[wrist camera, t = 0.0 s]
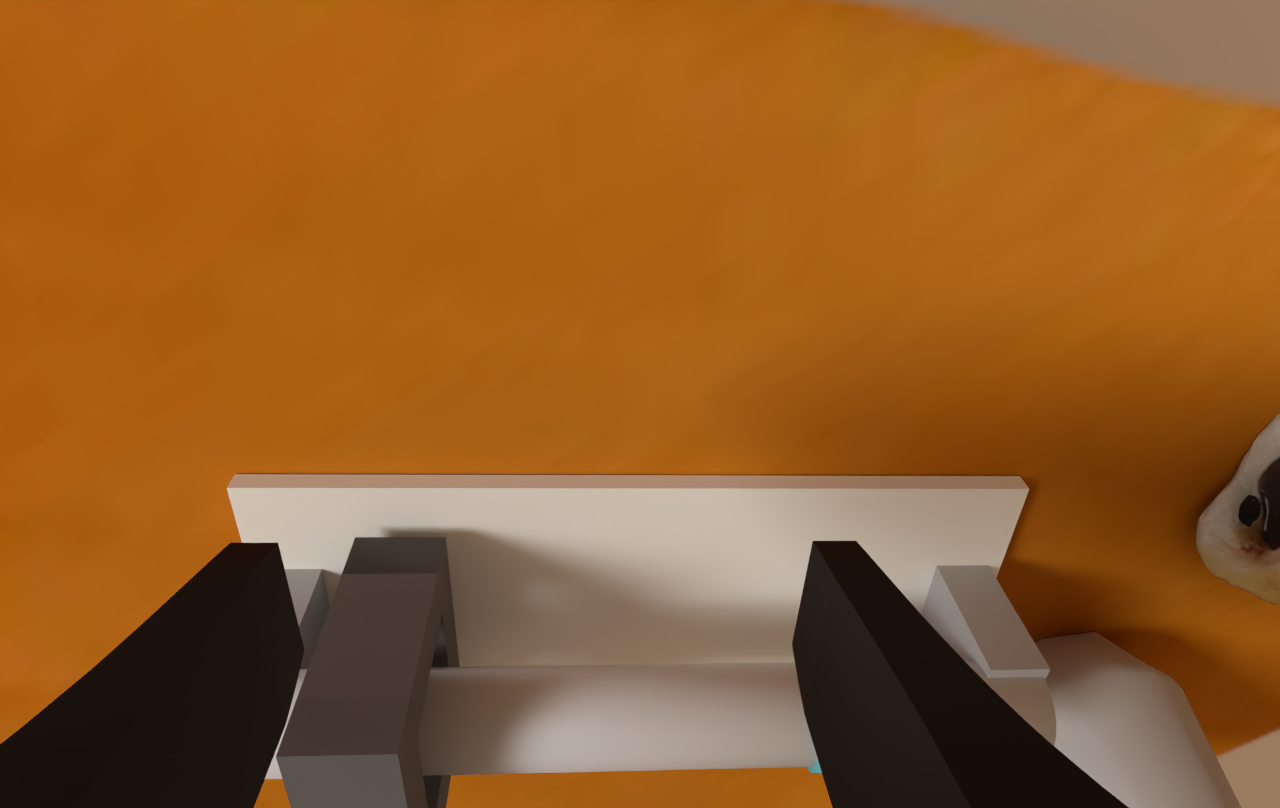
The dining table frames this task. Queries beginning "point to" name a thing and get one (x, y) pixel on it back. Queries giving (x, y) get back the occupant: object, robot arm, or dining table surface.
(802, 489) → the pipe rail
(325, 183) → the dining table surface
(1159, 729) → the salt shaker
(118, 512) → the dining table surface
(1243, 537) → the pastry
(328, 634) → the grey square collar
